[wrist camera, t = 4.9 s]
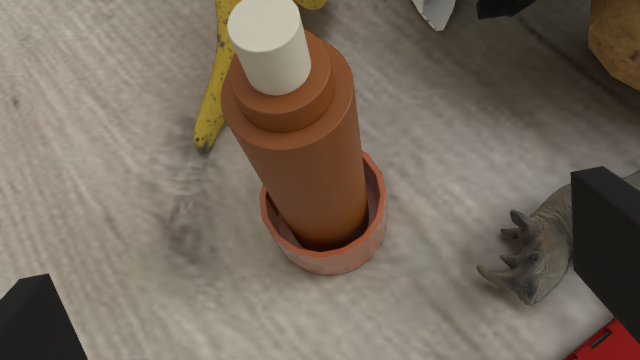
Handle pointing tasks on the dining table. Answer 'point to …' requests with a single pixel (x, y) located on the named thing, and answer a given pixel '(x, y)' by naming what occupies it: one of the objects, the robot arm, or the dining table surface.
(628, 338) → the cell phone
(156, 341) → the dining table surface
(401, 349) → the dining table surface
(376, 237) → the terracotta round cup
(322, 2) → the magic lamp
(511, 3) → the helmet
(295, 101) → the bottle
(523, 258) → the rhino figurine
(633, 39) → the potato
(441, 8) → the cloth
